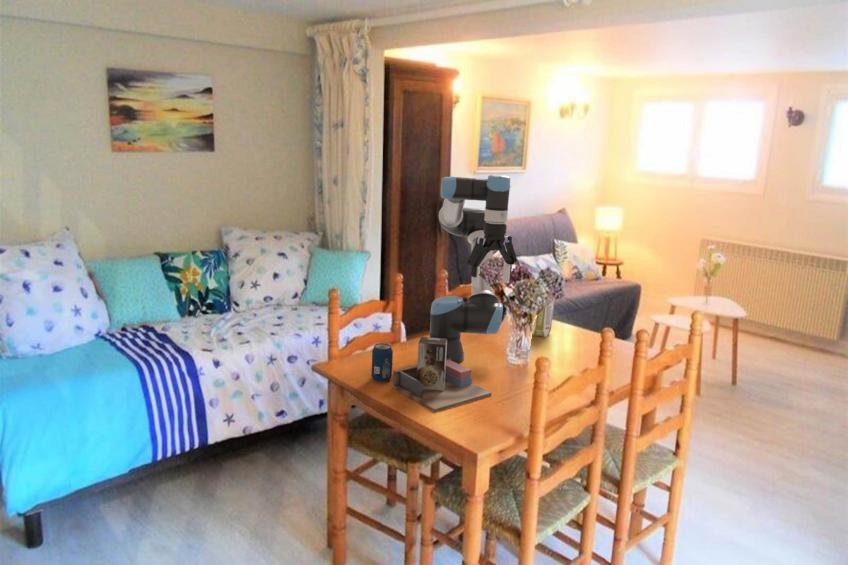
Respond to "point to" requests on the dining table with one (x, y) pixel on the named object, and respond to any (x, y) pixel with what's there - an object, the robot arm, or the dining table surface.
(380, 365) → the soda can
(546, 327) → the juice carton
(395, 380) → the book stand
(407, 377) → the grey upright panel
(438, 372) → the coffee box
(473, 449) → the dining table surface
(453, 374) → the books
